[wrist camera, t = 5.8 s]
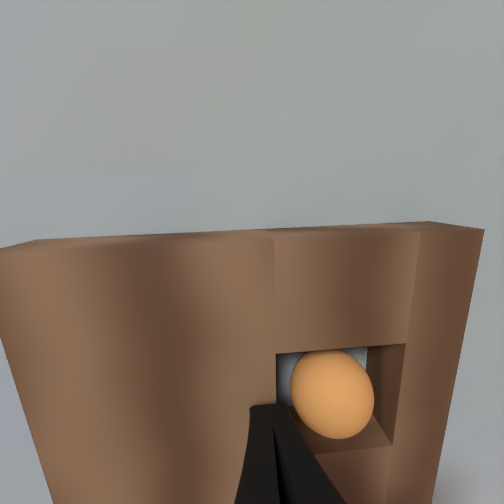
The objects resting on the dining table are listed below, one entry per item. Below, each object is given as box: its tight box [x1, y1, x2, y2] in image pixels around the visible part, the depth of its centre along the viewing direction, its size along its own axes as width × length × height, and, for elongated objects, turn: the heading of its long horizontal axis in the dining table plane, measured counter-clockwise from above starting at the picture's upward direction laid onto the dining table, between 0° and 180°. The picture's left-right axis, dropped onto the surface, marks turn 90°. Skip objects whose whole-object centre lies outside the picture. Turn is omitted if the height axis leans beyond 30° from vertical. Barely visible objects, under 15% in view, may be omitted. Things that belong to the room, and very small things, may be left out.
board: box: [0, 221, 484, 504], centre depth 11 cm, size 17×14×2 cm
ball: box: [290, 349, 374, 439], centre depth 11 cm, size 4×4×4 cm
